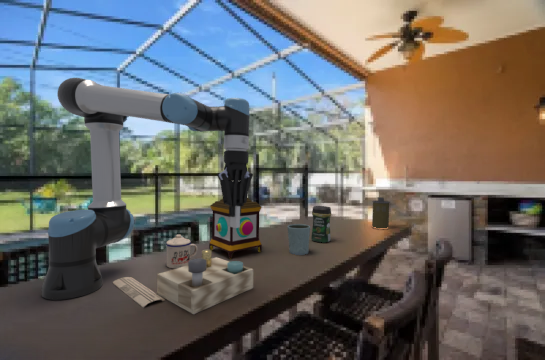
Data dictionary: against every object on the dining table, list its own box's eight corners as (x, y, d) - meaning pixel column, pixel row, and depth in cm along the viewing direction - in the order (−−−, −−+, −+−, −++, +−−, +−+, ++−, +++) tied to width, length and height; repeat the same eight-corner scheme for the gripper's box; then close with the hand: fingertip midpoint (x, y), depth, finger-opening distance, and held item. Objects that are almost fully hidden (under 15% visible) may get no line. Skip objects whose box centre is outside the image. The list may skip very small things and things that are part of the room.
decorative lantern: (204, 250, 132) (205, 184, 131) (240, 243, 145) (241, 183, 144) (229, 261, 117) (229, 187, 116) (266, 252, 130) (267, 185, 129)
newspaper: (165, 303, 81) (165, 297, 81) (139, 312, 76) (139, 305, 76) (131, 280, 97) (131, 275, 97) (108, 286, 92) (108, 281, 92)
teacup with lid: (170, 270, 105) (170, 238, 105) (162, 263, 112) (162, 234, 112) (201, 264, 112) (201, 234, 112) (192, 258, 120) (192, 230, 119)
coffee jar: (309, 241, 152) (309, 205, 151) (316, 238, 158) (317, 204, 157) (325, 244, 146) (326, 207, 145) (332, 241, 152) (333, 206, 151)
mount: (193, 314, 74) (193, 291, 74) (157, 294, 86) (157, 274, 85) (253, 288, 91) (253, 269, 91) (216, 274, 102) (216, 257, 102)
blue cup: (313, 254, 128) (314, 227, 127) (293, 256, 124) (293, 228, 124) (303, 248, 137) (303, 223, 137) (283, 250, 134) (283, 224, 133)
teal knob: (234, 288, 87) (234, 267, 87) (224, 284, 90) (224, 263, 90) (245, 283, 91) (246, 263, 90) (235, 279, 94) (235, 260, 93)
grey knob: (195, 289, 76) (195, 265, 76) (184, 284, 79) (184, 261, 79) (209, 284, 80) (210, 261, 79) (199, 279, 83) (199, 257, 83)
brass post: (205, 268, 91) (205, 252, 91) (199, 266, 93) (200, 250, 92) (213, 266, 93) (213, 250, 93) (207, 263, 95) (207, 248, 95)
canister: (371, 229, 185) (372, 197, 185) (371, 226, 195) (372, 196, 194) (390, 230, 182) (391, 198, 181) (389, 227, 192) (389, 197, 191)
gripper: (228, 148, 81) (226, 232, 82) (259, 151, 91) (258, 225, 92) (211, 149, 86) (210, 228, 87) (243, 151, 96) (241, 222, 97)
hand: (234, 226), depth 90 cm, fingers closed
